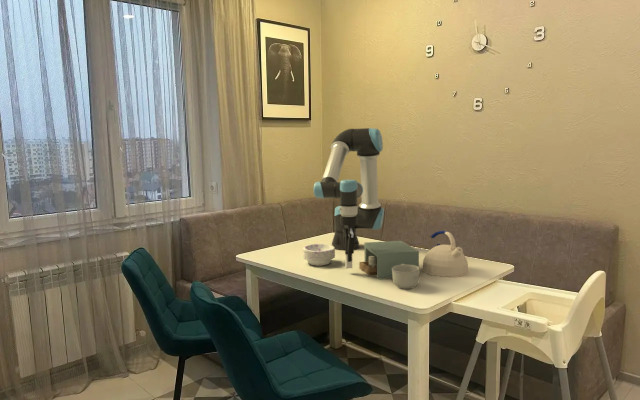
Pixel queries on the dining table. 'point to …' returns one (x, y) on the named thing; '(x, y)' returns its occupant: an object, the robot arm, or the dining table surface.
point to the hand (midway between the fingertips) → (348, 267)
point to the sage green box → (391, 256)
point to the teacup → (405, 276)
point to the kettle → (445, 259)
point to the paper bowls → (319, 254)
